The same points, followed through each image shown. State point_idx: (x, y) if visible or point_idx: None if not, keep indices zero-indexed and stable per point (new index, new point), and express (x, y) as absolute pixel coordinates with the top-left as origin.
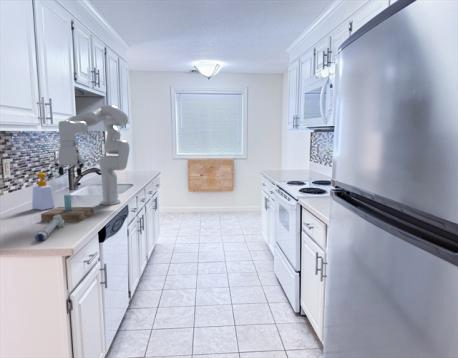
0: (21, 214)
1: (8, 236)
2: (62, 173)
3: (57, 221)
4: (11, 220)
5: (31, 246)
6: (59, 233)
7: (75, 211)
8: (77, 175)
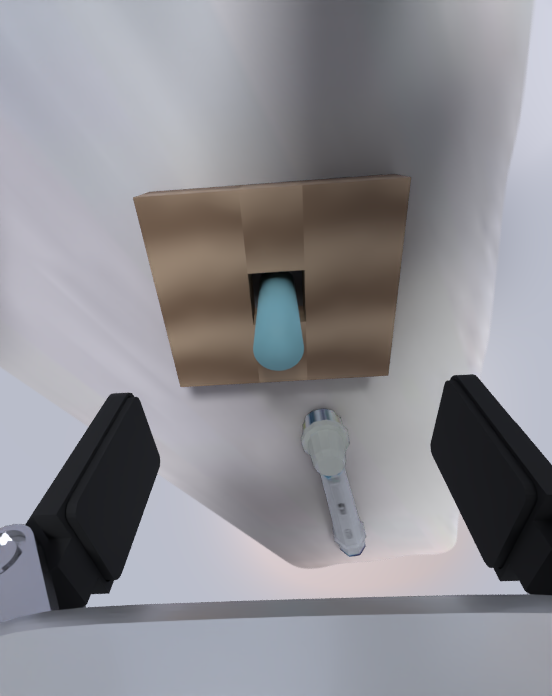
0: None
1: (224, 510)
2: (140, 448)
3: (346, 477)
4: (32, 363)
5: None
6: (368, 478)
7: (337, 318)
8: (436, 452)
